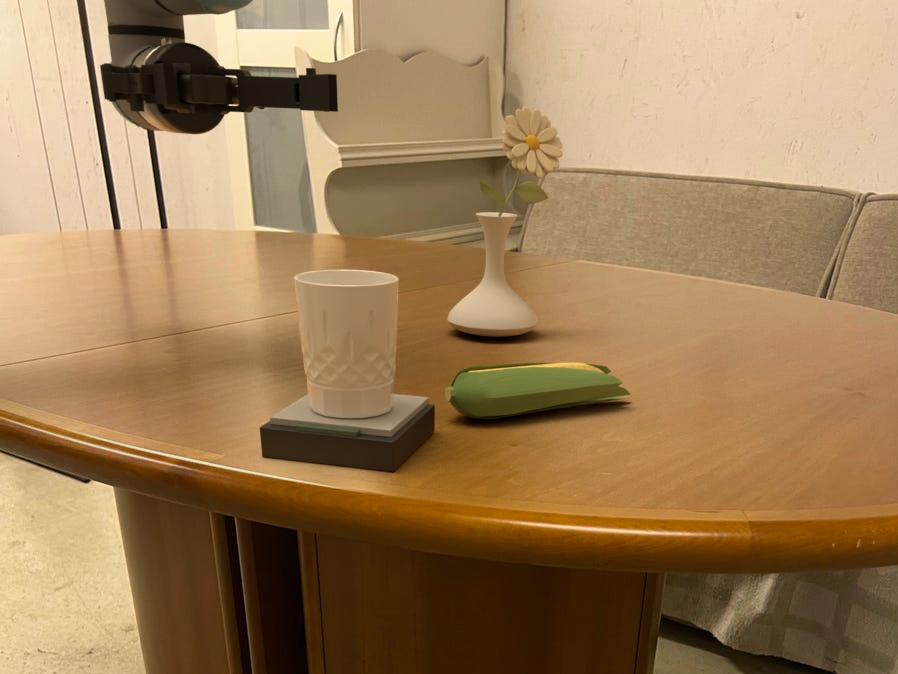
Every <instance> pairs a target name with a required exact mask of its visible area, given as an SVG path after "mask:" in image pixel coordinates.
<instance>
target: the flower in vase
mask: <svg viewBox="0 0 898 674" xmlns="http://www.w3.org/2000/svg"><path fill="white" fill-rule="evenodd" d="M503 127H504V130H503V131H502V132H501V136H502V143H501V148H502V150H503V151H504V152H506V157H507V159H508V160H510V161H511V166H512V168H514V169H518V171H517V175H516V179H515V182H514V185H513V186H512V189H511V191H510V192H509V194H508V196H507V197H505V195H504V194H505V193H503V192H502V191H500V190H498V189H495V188H493V187H491V186H489V185H487V184H486V183H484V182H483V181H482V180H481V179H480V180H479V188H480V190H481V192H482V194H483V195H484V196H486V197H487V198H489V199H492V200H495V201H496V202H499V203H503V205H502V206H501V208H500V211H499V212H498V211H497V212H496V211H495V212H493V211H492V212H491V211H490V212H488V211H487V212H485V211H484V212H476V213H475V217H476V219H478V221H479V223H480V226H481V229H482V232H483V237H484V243H485V244H484V246H485V267H484V275H483V277H482V280H481V281H480V282H479V283H478V285H477V286H476V287H475V288H474V289H473V290H471V291H470V292H469V293H468V294H467V295H465V296H464V297H463V298H462V299H460V300H459V302H457V303H456V304H455V305H454V306H453V307H452V309H451V310H450V311H449V312H448V316H447V319H446V320H447V321H448V324H449V325H450V327H452V328H454V329H456V330H458V331H459V332H462V333H464V334H465V333H466V334H469V335H474V336H479V337H488V338H489V337H490V338H491V337H492V338H501V337H504V338H505V337H514V336H520V335H523V334H526V333H529V332H531V331H533V330H534V329H535V328H536V327H537V325H538V324H539V320H538V317H537V315H536V313H535V312H534V311H533V309H532V308H531V306H530V305H529V304H528V303H527V302H526V301H524V299H522V297H520V296H519V294H517V293H516V291H514V290H513V288H512V287H511V286H510V285H509V284H508V282H507V279H506V277H505V255H506V254H505V252H506V245H507V241H508V236H509V232H510V230H511V227H512V226H513V224H514V222H515V221H516V220H517V218H518V214H516V213H511V212H504V211H505V209H506V207H507V205H508V203H509V202H510V200H511V198H512V196H513V195H514V192H516V193H517V195H518V196H519V197H520V198H521V200H522V201H523V202H524V203H525V204H528V205H534V204H538V203H540V202H543V201H546V200H548V199H549V196H548V195H547V192H545V190H544V189H543V188H542V187H541V186H540V185H538V183H536V182H533V181H530V180H527V181H524V182H522V183H520V184H519V181H520V177H521V174H522V173H523V174H524V175H530V176H531V177H532V178H537V179H542V178H545V177H546V175H547V172H548V173H553V172H554V171H555V170H557V169H559V168H560V160H559V158H562V157H563V151H562V149H563V142H562V141H561V138H560V137H559V136H558V129H557V128H556V127H554V126H552V122H551V120H549V119H548V116H547V115H546V114H542V113H541V110H539V109H538V108H534V110H533V111H532V110H531V109H530V108H529V107H528V106H524V107H522V109H520V108H517V109H516V110H515V115H514V114H510V115H506V116H505V121H504V123H503ZM521 172H522V173H521Z"/></svg>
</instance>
